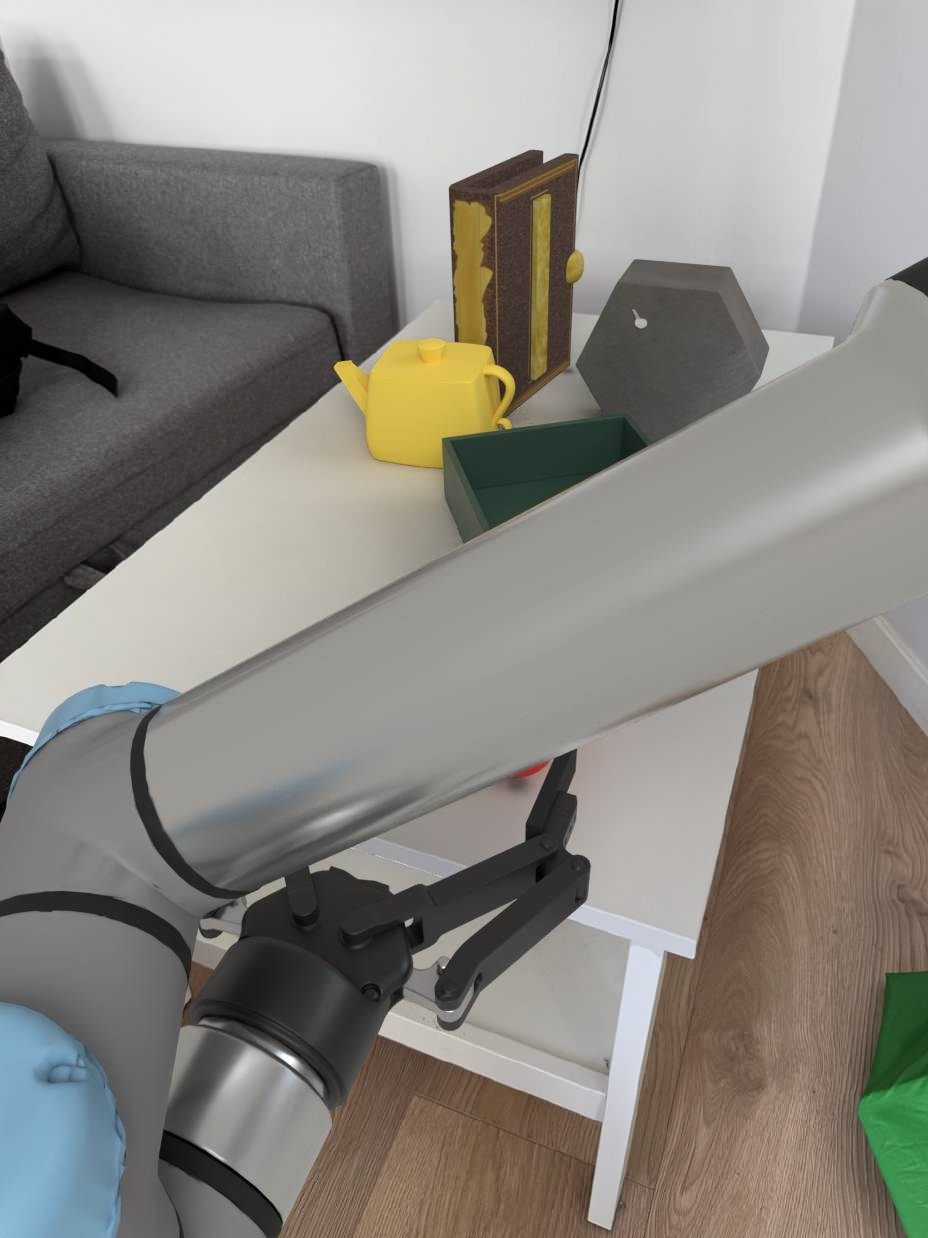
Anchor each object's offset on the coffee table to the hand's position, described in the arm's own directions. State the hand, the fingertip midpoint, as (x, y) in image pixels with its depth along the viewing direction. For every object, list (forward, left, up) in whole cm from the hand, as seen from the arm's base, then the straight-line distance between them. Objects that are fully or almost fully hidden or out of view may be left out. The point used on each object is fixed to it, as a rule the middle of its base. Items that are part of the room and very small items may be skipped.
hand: (456, 721), depth 53 cm
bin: (+34, -18, -12) cm, 40 cm away
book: (+68, -23, -12) cm, 72 cm away
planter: (+51, -35, -12) cm, 63 cm away
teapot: (+56, -9, -12) cm, 58 cm away
